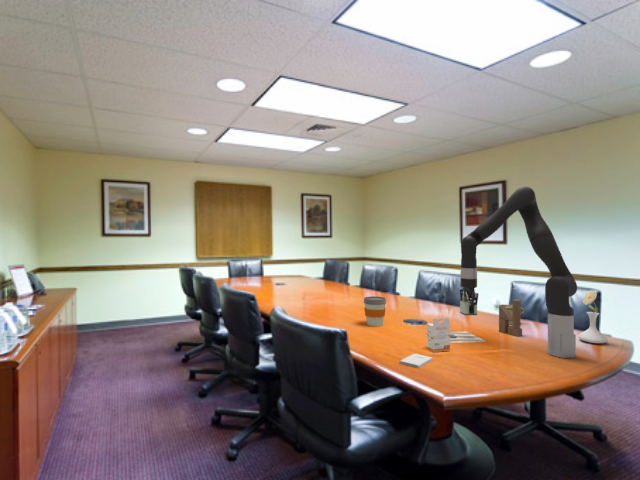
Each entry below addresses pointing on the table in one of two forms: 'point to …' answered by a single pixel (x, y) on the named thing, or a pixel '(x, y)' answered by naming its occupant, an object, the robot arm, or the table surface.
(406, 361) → the external hard drive
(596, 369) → the table surface
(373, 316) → the reusable coffee cup
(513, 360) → the table surface
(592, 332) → the flower in vase
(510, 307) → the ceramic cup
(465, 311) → the block
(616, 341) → the table surface
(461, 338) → the birch board
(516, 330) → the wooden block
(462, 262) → the robot arm
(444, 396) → the table surface
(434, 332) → the ink cartridge box
